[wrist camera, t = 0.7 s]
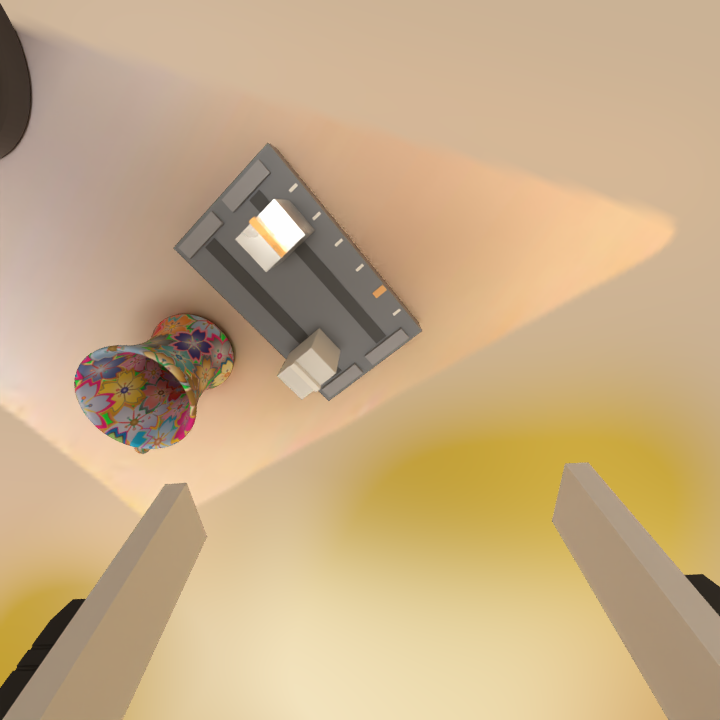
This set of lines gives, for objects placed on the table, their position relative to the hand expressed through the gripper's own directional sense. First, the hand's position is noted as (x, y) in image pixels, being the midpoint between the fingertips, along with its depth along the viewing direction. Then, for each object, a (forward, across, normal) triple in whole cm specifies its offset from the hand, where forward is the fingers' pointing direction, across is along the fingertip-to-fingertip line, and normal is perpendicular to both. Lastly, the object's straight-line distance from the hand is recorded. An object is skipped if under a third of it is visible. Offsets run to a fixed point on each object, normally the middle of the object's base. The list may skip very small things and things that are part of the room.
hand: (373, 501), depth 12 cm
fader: (+22, -6, +8) cm, 24 cm away
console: (+24, -6, +3) cm, 25 cm away
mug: (+25, -19, -5) cm, 31 cm away
